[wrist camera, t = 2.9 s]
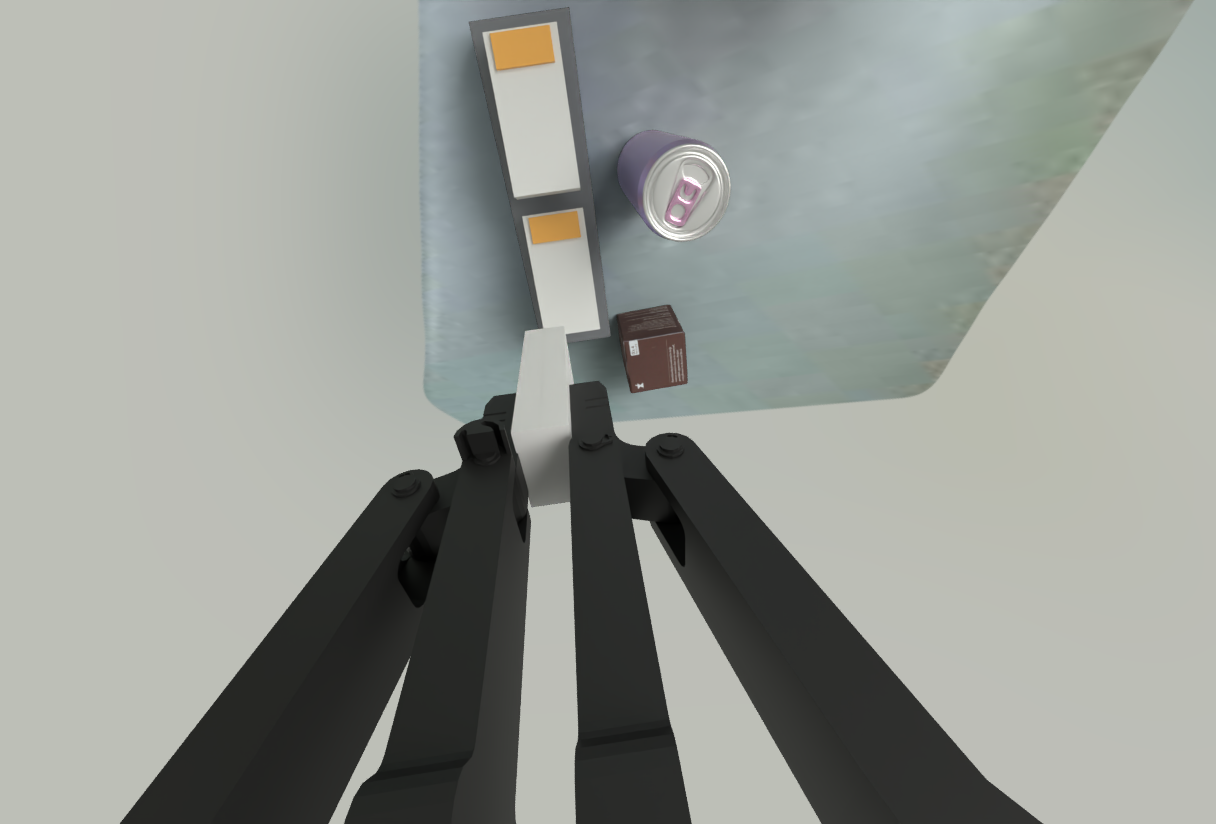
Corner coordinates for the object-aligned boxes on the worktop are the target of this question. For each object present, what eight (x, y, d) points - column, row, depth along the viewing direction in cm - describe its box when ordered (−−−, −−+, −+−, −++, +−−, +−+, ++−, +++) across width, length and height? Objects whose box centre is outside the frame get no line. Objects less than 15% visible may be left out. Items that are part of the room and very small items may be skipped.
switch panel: (477, 30, 34) (466, 19, 30) (568, 16, 34) (569, 4, 30) (543, 330, 48) (542, 350, 44) (607, 320, 48) (611, 340, 44)
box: (673, 352, 51) (688, 385, 45) (622, 361, 51) (630, 395, 45) (670, 302, 48) (686, 330, 41) (615, 312, 48) (622, 341, 42)
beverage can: (606, 188, 41) (624, 223, 28) (633, 116, 38) (667, 121, 25) (662, 214, 42) (703, 258, 30) (693, 148, 39) (752, 167, 27)
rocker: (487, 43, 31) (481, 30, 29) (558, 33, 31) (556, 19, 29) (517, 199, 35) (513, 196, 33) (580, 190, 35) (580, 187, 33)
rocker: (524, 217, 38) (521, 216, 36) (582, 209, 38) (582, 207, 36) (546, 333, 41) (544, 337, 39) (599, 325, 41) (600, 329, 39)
